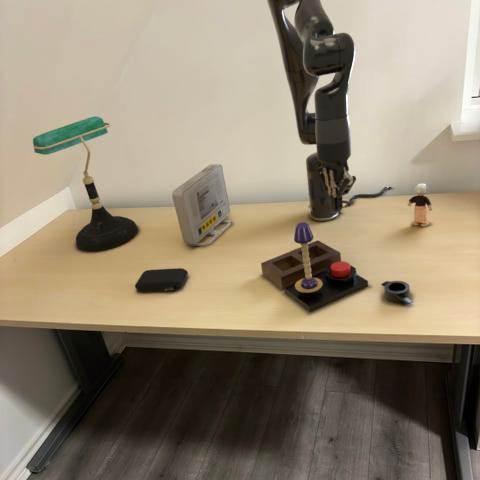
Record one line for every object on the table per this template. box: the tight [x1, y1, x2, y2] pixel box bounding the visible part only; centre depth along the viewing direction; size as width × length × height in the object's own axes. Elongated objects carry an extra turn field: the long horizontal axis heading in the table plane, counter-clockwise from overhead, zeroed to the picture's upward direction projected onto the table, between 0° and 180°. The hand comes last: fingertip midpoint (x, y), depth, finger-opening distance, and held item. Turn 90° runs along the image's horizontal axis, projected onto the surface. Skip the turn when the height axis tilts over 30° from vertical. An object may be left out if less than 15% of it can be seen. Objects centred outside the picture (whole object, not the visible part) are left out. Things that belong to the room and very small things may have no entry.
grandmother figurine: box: [407, 183, 433, 228], centre depth 149 cm, size 8×4×13 cm, turn 58°
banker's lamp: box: [32, 115, 139, 253], centre depth 173 cm, size 26×23×40 cm
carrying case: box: [134, 267, 189, 292], centre depth 146 cm, size 11×3×15 cm
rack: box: [260, 240, 342, 291], centre depth 140 cm, size 11×19×4 cm, turn 117°
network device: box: [171, 163, 232, 247], centre depth 166 cm, size 26×9×20 cm, turn 152°
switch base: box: [283, 264, 369, 313], centre depth 130 cm, size 18×12×4 cm, turn 117°
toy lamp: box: [293, 221, 318, 289], centre depth 123 cm, size 5×5×17 cm
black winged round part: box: [380, 280, 415, 304], centre depth 122 cm, size 8×10×3 cm
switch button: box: [331, 260, 351, 277], centre depth 130 cm, size 5×5×2 cm
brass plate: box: [295, 277, 323, 293], centre depth 127 cm, size 7×7×1 cm
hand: (336, 209), depth 121 cm, fingers closed
